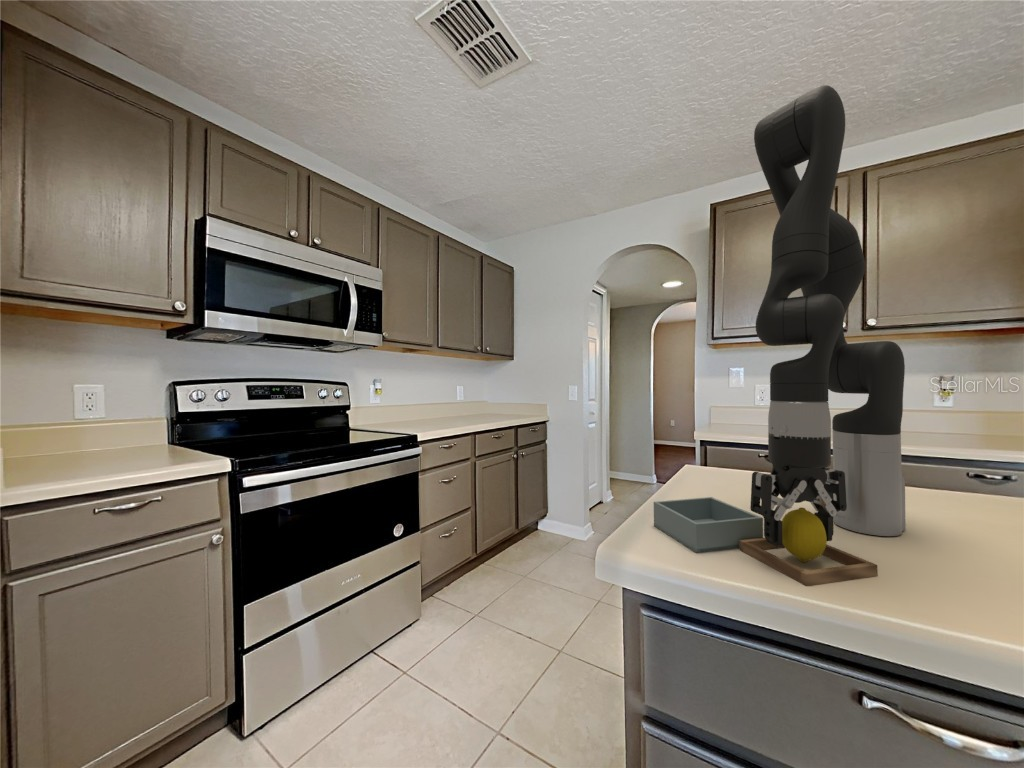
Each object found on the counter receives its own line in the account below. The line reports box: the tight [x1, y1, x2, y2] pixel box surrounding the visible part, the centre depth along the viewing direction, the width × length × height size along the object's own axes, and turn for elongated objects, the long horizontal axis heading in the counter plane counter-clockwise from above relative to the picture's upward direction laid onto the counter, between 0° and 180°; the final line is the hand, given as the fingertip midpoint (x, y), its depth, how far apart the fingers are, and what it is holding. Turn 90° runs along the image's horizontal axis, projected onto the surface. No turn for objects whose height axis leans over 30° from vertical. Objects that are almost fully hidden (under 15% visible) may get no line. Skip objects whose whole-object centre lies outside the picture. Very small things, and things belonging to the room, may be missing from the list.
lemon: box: [781, 507, 828, 563], centre depth 59 cm, size 6×6×8 cm
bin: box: [653, 496, 764, 554], centre depth 70 cm, size 12×12×4 cm
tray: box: [738, 537, 878, 587], centre depth 59 cm, size 12×12×2 cm
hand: (798, 541), depth 59 cm, fingers open, 8 cm apart
